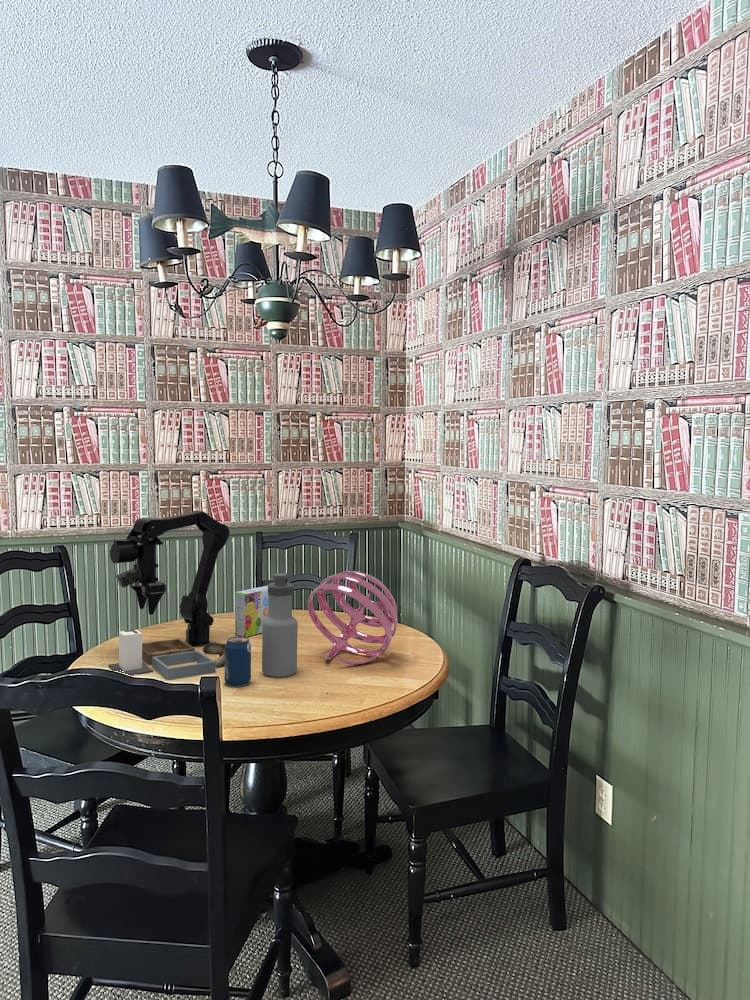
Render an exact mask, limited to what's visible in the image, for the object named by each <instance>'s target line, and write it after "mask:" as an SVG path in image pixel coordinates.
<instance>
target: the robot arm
mask: <svg viewBox="0 0 750 1000" xmlns="http://www.w3.org/2000/svg"><path fill="white" fill-rule="evenodd" d="M191 526H196V527H197V529H198V530H199V531H200V532H201V533H202V545H203V550H202V552H201V557H200V561H199V564H198V567H197V569H196V570H197V571H196V574H195V576H194V577H195V578H194V581H193V584H192V587H191V591H190V592H189V593H188V594H187V595H185V594H183V595H182V597H181V602H180V604H179V607H178V608H179V609H180V610H179V614H180V616H181V618H183V620H184V623H185V624H187V629H185V643H187V644H189V645H190V646H192V647H199V646H205V645H206V644H208V643H211V642H212V641H211V640H210V638H211V637H210V629H211V628H210V626H213V623H214V619H215V618H214V617H213V616H211V614H209V613H208V607H209V605H208V603H209V602H208V598H207V594H208V591H209V590H208V589H209V587H210V583H211V580H212V577H213V573H214V569H215V568H216V567H215V565H216V563H217V561H218V560H217V559H218V555H219V553H220V551H221V550H222V549H223V548H224V547H225V545H226V544H227V542H228V539H229V537H230V534H231V533H230V529H229V527H228V526H227V525H226V524H223V523H222V522H221V523H220V521H218V520H217V519H215V518H213V517H212V516H210V514H209V515H208V513H206V512H205V511H201V510H193V511H191V512H190V511H189V512H186V513H181V514H177V515H172V516H171V515H170V516H166V517H159V518H156V517H140V518H138V519H136V520H135V522H134V524H133V527H132V528H131V531H130V532H129V533H128V535H127V536H126V537H125V539H113V544H112V545H111V547H110V550H109V557H110V561H111V562H112V564H123V563H124V564H125V563H132V562H135V561H136V562H135V563H133V566H132V569H128V570H126V571H124V572H121V573H118V574H117V575H116V576H115V578H116V580H117V582H118V585H119V586H120V587H121V588H127V587H129V588H130V589H132V590H133V591H134V592H135V596H136V601H137V602H138V603H137V604H138V607H139V609H140V610H143V609H144V608H145V606H146V605H147V611H148V615H150V616H152V615H154V613H155V611H156V609H157V607H158V605H159V603H160V602H161V599H162V597H163V595H164V594H165V593H166V592H167V585H166V583H164V582H163V581H161V580H159V577H158V576H157V568H159V563H157V546H161V545H163V544H164V542H163V541H162V540H161V539H159V536H162V535H164V534H165V533H166V532H168V531H172V530H177V529H182V528H187V527H191Z"/></svg>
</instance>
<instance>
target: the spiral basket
mask: <svg viewBox="0 0 750 1000" xmlns="http://www.w3.org/2000/svg"><path fill="white" fill-rule="evenodd" d="M362 578H365V579H367V581H366V580H365V579H362ZM330 580H331V583H327V582H328V581H330ZM340 580H346V581H347V585H343V584H340ZM368 580H370V581H371V582H373V583H374V584H376V585H377V586H378V587H380V589H382V590H383V592H384V593H383V592H382V591H381V590H379V589H378V588H377V587H376V586H375V585H373V584H371V583H370V582H368ZM357 585H359V586H361V587H363V588H365V589H367V590H368V591H369V592H368V594H367V595H364V594H363V593H361V592H360V591H359V590H358V587H357ZM325 591H326V592H331V594H332V595H333V598H334V600H335V601H336V603H337V604H338V606H339V607H340V608H341V610H343V611H344V613H346V614H347V615H348V616H349V618H350V620H349V622H348V623H346V622H344V621H343V620H342V619H340V618H339V617H338V616H337V615H336V613H334V611H333V610H332V608H331V607H330V606H329V604H328V603H327V600H326V596H325ZM371 593H372V594H373V595H374V596H376V597H377V598H378V599H379V601H374V600H371V599H370V596H371ZM315 594H316V596H317V602H318V605H319V607H320V609H321V610H322V612H323V614H324V616H325V617H326V618H327V619H328V620H329V621H330V622H331V623H332V624H333V625H334V626H335V627H336V628H338V629H339V630H340V632H341V634H340V635H339V636H336V635H335V634H333V633H332V632H331V631H330V630H329V629H328V628H327V627H326V625H324V624H323V623H322V621H321V620H320V618H319V617H318V616H317V613H316V611H315V609H314V606H313V597H314V596H315ZM342 594H343V595H346V596H348V597H350V598H351V599H354V600H356V601H357V602H359V607H358V608H357V609H356V608H354V607H352V606H351V605H350V604H349V603H348V601H347V600H346V599H345V598H344V596H343V595H342ZM366 608H367V609H368V610H369V611H370V612H371V613H372V614H373V615H374V617H376V618H374V617H370V616H368V615H365V614H364V611H365V609H366ZM307 610H308V613H309V617H310V619H311V621H312V622H313V624H314V625H315V627H316V628H317V630H318V631H319V632H320V633H321V634H322V635H323V636H324V637H325V639H327V640H328V641H330V642H331V643H332V647H331V649H330V650H329V651H328V653H327V654H326V655H325V656H324V658H325V659H326V660H327V661H331V660H332V659H333V658H335V660H337V661H338V662H340V663H344V664H347V665H351V666H360V665H359V664H362V665H366V664H369V663H370V662H373V661H375V660H376V659H377V658H378V657H380V656H381V655H382V654H383V653H385V652H386V651H387V649H388V648H389V647H390V645H391V643H392V640H393V637H394V636H395V634H396V633H397V629H398V607H397V603H396V601H395V598H394V597H393V594H392V593H391V591H390V590H389V589H388V587H386V585H385V584H384V583H383V582H382V581H381V580H379V579H378V578H377V577H375V576H373V575H371V574H368V573H366V572H365V573H364V572H361V571H357V570H345V571H344V570H343V571H341V572H339V573H335V574H332V575H329V576H328V577H326V578H325V579H323V580H322V581H321V582H320V583H319V585H318V586H317V587H315V588H314V589H313V591H311V592H310V594H309V597H308V600H307ZM383 611H384V612H383ZM358 624H364V625H366V626H368V627H373V628H383V630H384V632H385V633H384V634H383V635H371V634H366V633H364V632H361V631H359V630H357V625H358ZM392 626H393V629H392ZM350 638H352V639H355V640H358V641H361V642H364V643H368V644H382V645H381V646H380V647H379V648H378V649H376V650H375V649H374V650H370V649H363V648H359V647H356V646H354V645H351V644H350V643H348V642H349V640H350ZM340 651H345V652H348V653H350V652H355V653H363V654H366V655H369V657H370V658H368V659H365V660H362V661H361V660H359V661H353V660H352V661H351V660H348V659H344V658H342V657H339V656H335V657H333V656H334V655H335V654H337V655H338V654H339V652H340ZM332 657H333V658H332ZM331 658H332V659H331ZM368 662H369V663H368ZM365 663H366V664H365Z"/></svg>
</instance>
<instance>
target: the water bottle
mask: <svg viewBox="0 0 750 1000" xmlns="http://www.w3.org/2000/svg"><path fill="white" fill-rule="evenodd" d="M273 580H274V581H273V582H270V583H269V584H267V586H268V596H269V610H268V617H267V618H265V619H264V621H263V625H262V633H261V634H262V635H261V637H262V638H261V639H262V643H261V647H262V648H261V672H262V673H263V675H265V676H267V677H270V676H271V677H272V678H287V677H291V676H293V675H295V674H296V673H297V669H298V630H299V629H298V625H299V623H298V620H297V619H296V618H295V617H294V616H293V596H294V584H292V583H291V582H289V580H288V572H274V574H273ZM290 675H291V676H290ZM286 676H287V677H286Z"/></svg>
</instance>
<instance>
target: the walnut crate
mask: <svg viewBox="0 0 750 1000" xmlns="http://www.w3.org/2000/svg"><path fill="white" fill-rule="evenodd" d="M171 649H173V650H171ZM178 649H179V650H178ZM164 650H166V651H164ZM156 651H159V652H156ZM190 651H196V648H195V647H194V646H191V645H189V644H188V643H186V641H184V640H183V639H181V638H172V639H165V640H158V641H150V642H142V659H143V660H144V661H143V660H142V661H143V662H144V663H145V664H146V665H148V664H149V666H152V657H155V656H162V655H169V654H176V653H183V652H190ZM149 652H151V653H149Z"/></svg>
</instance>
